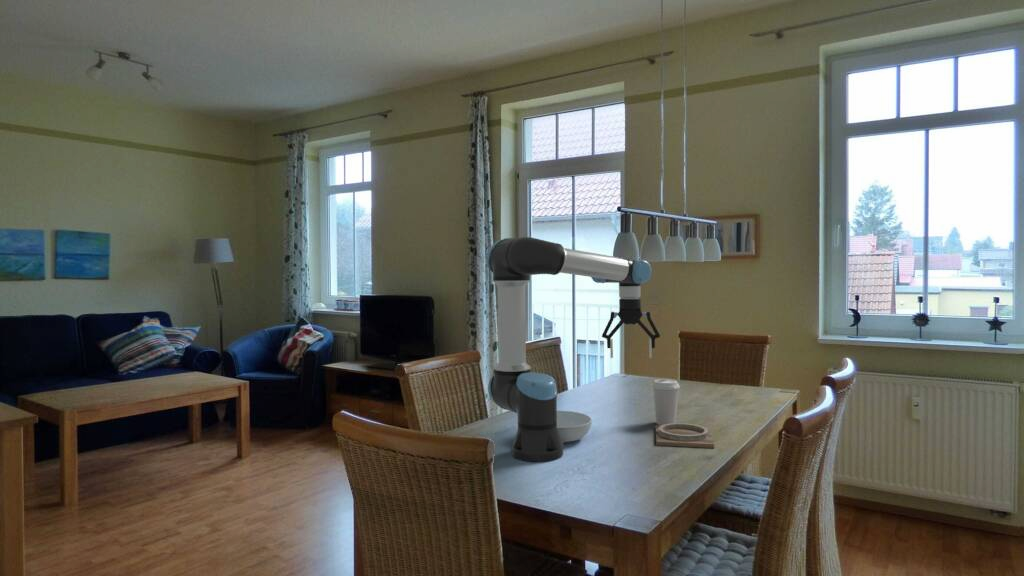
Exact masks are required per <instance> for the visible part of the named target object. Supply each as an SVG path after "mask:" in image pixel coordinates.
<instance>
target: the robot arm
mask: <svg viewBox="0 0 1024 576" xmlns="http://www.w3.org/2000/svg"><path fill="white" fill-rule="evenodd" d="M640 258H641V257H640V256H639V257H638V259H640ZM486 264H487V267H488V269H489V270H490V272H491V273H492V282H493V284H495V285H496V286H497V308H498V309H497V312H498V313H497V314H498V318H497V319H498V320H497V322H498V324H497V325H498V326H497V327H498V329H497V330H498V363H497V364H496V365H495V366H494V367H493V374H492V376H491V378H489V381H488V385H487V392H488V396H489V398H490V399H491V401H492V402H493V403H494V404H495V405H496V406H497V407H499V408H501V409H503V410H506V411H509V412H512V413H515V414H517V429H516V433H515V436H514V440H513V444H512V448H511V452H512V453H511V455H512V454H513V455H512V456H513V458H515V457H516V458H515V459H517V458H518V460H520V459H521V461H524V460H525V461H526V462H533V461H539V462H541V461H542V462H548V461H555V460H557V459H560V458H562V457H563V456H564V446H563V443H562V442H561V439H560V436H559V433H558V430H557V411H558V410H557V406H558V405H557V404H558V403H557V402H558V401H557V400H558V398H557V397H558V395H557V394H558V390H557V382H556V380H555V378H554V377H553V376H551V375H550V374H546V373H539V372H533V371H532V369H531V367H532V366H530V365H529V364H528V363H527V357H526V356H527V352H526V351H527V350H526V349H527V348H526V347H527V344H526V343H527V341H526V339H527V337H526V335H527V334H526V331H527V330H526V286H527V285H528V284H529V282H530V281H531V276H534V275H536V276H537V275H552V276H556V275H559V274H560V273H562V274H569V275H574V276H583V277H588V278H591V280H592V281H593V282H594V283H597V284H606V283H609V284H610V283H611V284H612V283H614V284H615V283H616V284H618V294H619V295H618V296H619V298H620V299H619V300H618V301H619V305H618V306H619V308H618V309H619V311H618V312H616V311H611V312H610V318H609V320H608V322H607V324H606V325H605V328H604V330H603V332H602V335H601V337H602V338H604V339H605V340H606V347H607V349H610V359H613V358H614V344H613V338H612V337H613V336H614V335H615V333H616V332H617V331H618V330H619V329H620V327H622V325H624V324H625V325H636V324H638V326H640V327H641V329H642V330H643V332H645V333H646V335H648V336H649V337H650V338H649V339H648V345H649V346H648V348H649V349H648V351H649V354H648V356H649V357H648V358H649V359H652V357H653V355H652V353H653V351H652V350H653V349H655V348H656V345H655V344H656V339H658V338H660V336H661V335H660V332H659V331H658V329H657V327H656V325H655V324H654V321H653V319H652V318H651V312H650V311H649V310H647V311H644V312H642V300H641V298H640V297H641V296H642V294H641V292H642V291H641V284H644V283H646V282H648V281H649V280H650V279H651V277H652V267H651V264H650V262H648V261H646V260H644V259H640V260H630V259H623V258H619V256H614V255H613V256H612V255H607V254H600V253H595V252H589V251H582V250H577V249H571V248H566V247H564V246H563V245H562V244H561V243H556V242H552V241H548V240H544V239H540V238H536V237H531V236H522V237H508V238H503V239H499V240H497V241H495V242H494V243H493V244H491V246H490V247H489V249H488V251H487V254H486ZM643 316H644V318H645V319H646V320H647V321H648V323H649V325H650V327H651V329H652V331H653V333H654V334H653V333H652V331H650V330H649V328H648V327H647V326H646V325H645V324H644V322H642V320H641V318H642V317H643ZM617 317H618V318H620V320H619V322H618V323H616V325H615V326H614V328H613V329H612V330H610V333H608V332H609V329H610V328H611V325H612V323H613V321H614V319H616V318H617ZM607 333H608V334H607ZM539 462H538V463H539Z"/></svg>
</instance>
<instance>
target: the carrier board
mask: <svg viewBox="0 0 1024 576" xmlns="http://www.w3.org/2000/svg"><path fill="white" fill-rule="evenodd" d="M655 436H656V437H655V441H656V443H655V444H656V446H660V447H661V446H665V447H682V448H704V449H705V448H706V449H715V442H714V440H713V436H712V434H711V430H710V429H709V426H702V425H699V424H694V423H687V422H685V423H684V422H683V423H682V422H676V423H669V424H664V425H658V424H655Z"/></svg>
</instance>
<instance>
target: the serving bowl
mask: <svg viewBox="0 0 1024 576" xmlns="http://www.w3.org/2000/svg"><path fill="white" fill-rule="evenodd" d="M591 426H592V418H591V417H590V416H589V415H588V414H585V413H582V412H578V411H570V410H557V430H558V433H559V436H560V439H561V442H566V443H569V442H574V441H579V440H581V439H582V438H584V437H585V436H586V435H588V433H589V431H590V430H591V428H592V427H591Z"/></svg>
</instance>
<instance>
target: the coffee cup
mask: <svg viewBox="0 0 1024 576" xmlns="http://www.w3.org/2000/svg"><path fill="white" fill-rule="evenodd" d="M651 388H652V390H653V399H654V411H655V420H656V421H655V422H656V425H664V424H669V423H677V410H678V409H677V408H678V397H679V390H680V388H681V386H680V384H679V382H678V381H677V380H675V379H671V378H659V379H654V381H653V382H652V385H651Z"/></svg>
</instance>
